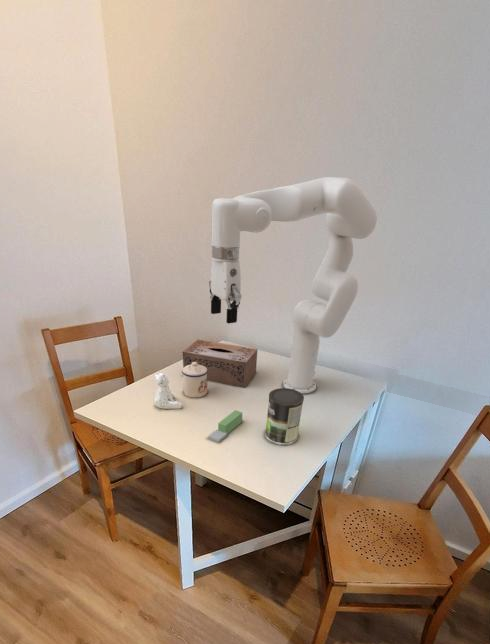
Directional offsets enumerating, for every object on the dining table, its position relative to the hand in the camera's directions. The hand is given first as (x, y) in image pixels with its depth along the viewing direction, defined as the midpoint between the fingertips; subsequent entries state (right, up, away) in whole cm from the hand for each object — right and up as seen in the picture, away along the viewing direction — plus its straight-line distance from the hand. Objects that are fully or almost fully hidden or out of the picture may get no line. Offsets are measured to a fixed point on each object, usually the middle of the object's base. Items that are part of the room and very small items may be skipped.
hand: (223, 317), depth 115 cm
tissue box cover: (-2, -7, +41) cm, 42 cm away
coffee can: (+18, -35, +6) cm, 40 cm away
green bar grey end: (+1, -33, +8) cm, 34 cm away
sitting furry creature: (-20, -23, +20) cm, 37 cm away
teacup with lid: (-11, -16, +29) cm, 35 cm away
